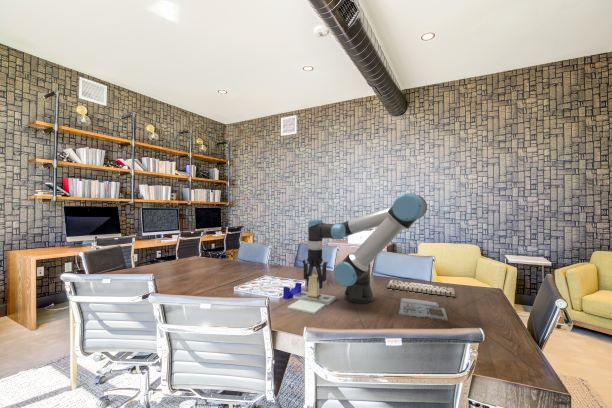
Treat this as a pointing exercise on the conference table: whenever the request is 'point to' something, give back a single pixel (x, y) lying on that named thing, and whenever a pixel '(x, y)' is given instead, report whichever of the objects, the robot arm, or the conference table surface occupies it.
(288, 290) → the cable clip
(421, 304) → the grey flat slab
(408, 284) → the mechanical keyboard
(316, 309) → the sage pad
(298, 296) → the grey plate with holes
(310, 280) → the tan rectangular block
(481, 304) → the conference table surface
